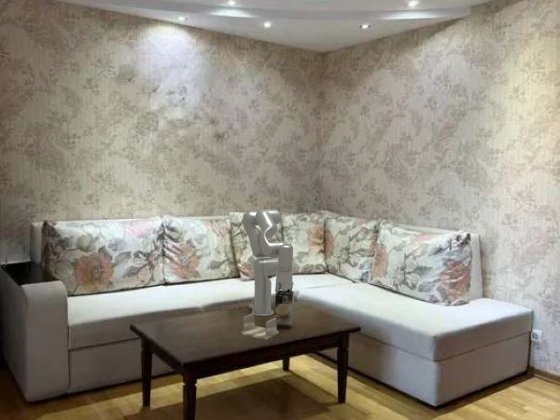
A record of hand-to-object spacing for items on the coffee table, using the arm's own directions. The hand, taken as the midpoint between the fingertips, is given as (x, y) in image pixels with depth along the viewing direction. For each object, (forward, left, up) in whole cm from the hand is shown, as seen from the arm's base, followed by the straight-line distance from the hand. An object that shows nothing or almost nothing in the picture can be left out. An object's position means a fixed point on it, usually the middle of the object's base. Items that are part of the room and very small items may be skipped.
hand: (283, 301), depth 262 cm
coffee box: (0, 0, -11) cm, 11 cm away
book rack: (-4, -15, -14) cm, 21 cm away
